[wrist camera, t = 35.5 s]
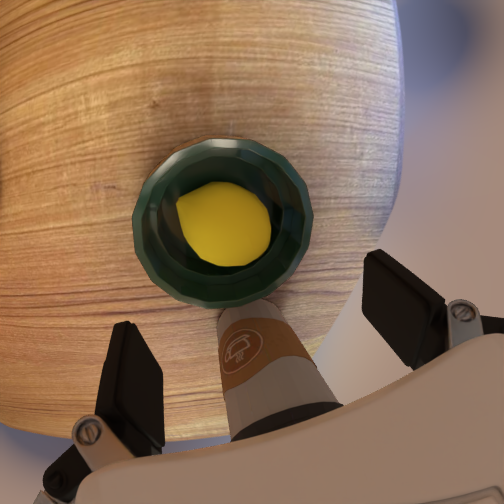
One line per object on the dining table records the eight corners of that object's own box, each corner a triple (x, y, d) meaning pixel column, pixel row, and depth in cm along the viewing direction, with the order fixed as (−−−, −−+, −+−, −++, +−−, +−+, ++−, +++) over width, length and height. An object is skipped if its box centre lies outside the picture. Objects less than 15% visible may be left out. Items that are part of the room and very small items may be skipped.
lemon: (276, 204, 21) (304, 230, 17) (239, 259, 23) (254, 298, 18) (198, 156, 19) (203, 168, 14) (161, 220, 20) (154, 252, 15)
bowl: (312, 209, 23) (341, 232, 19) (214, 295, 25) (222, 333, 20) (222, 104, 18) (234, 97, 13) (114, 211, 19) (97, 237, 15)
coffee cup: (256, 268, 24) (331, 419, 11) (303, 318, 28) (374, 438, 15) (187, 323, 25) (207, 477, 12) (242, 362, 29) (281, 485, 16)
